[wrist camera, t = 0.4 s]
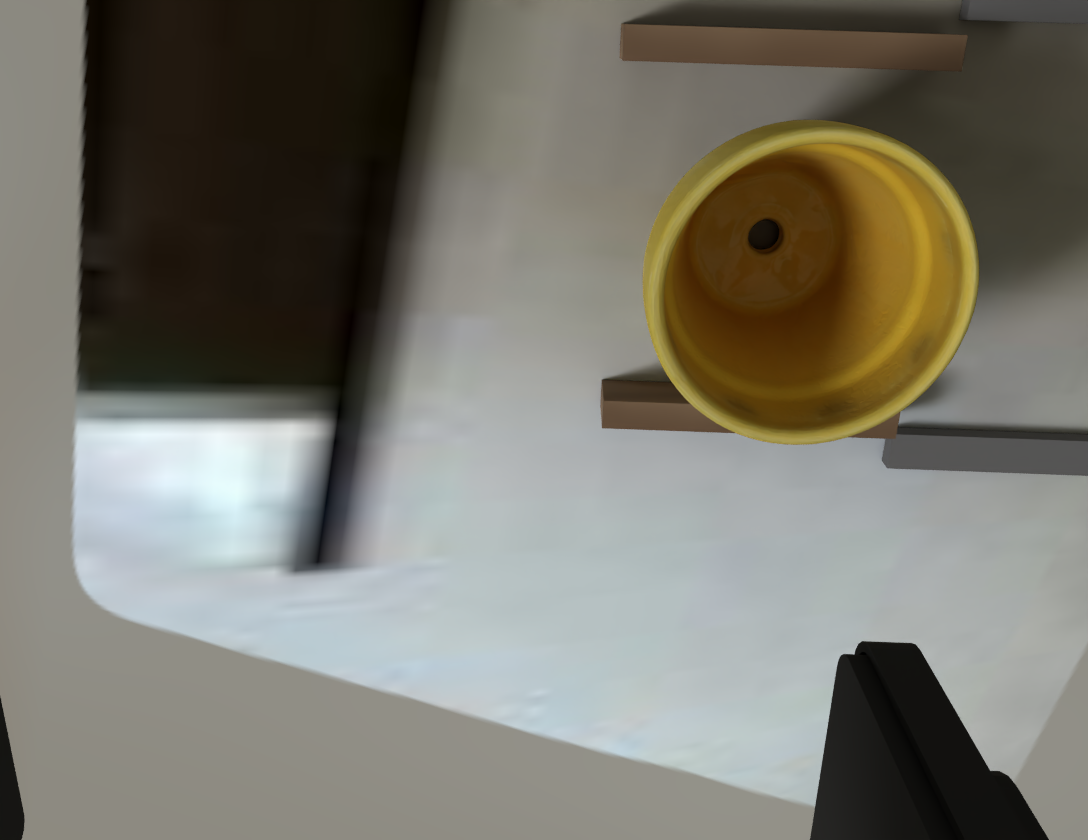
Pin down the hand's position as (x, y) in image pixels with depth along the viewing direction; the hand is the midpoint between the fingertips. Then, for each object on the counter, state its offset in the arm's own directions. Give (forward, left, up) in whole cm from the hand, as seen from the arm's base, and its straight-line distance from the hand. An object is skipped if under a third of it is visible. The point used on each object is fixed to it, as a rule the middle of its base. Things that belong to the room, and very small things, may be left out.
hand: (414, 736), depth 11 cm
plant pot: (+1, +9, -32) cm, 33 cm away
